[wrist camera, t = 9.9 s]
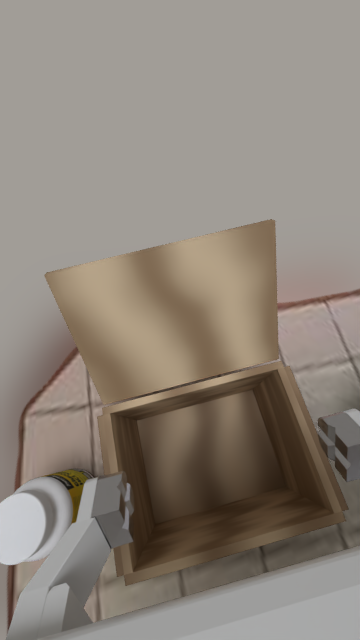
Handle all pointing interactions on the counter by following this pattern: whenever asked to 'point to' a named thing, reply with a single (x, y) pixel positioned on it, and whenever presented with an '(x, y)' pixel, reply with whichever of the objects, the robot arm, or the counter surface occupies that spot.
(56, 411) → the counter surface
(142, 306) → the lid flap
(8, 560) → the pill bottle
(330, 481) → the cardboard carton
